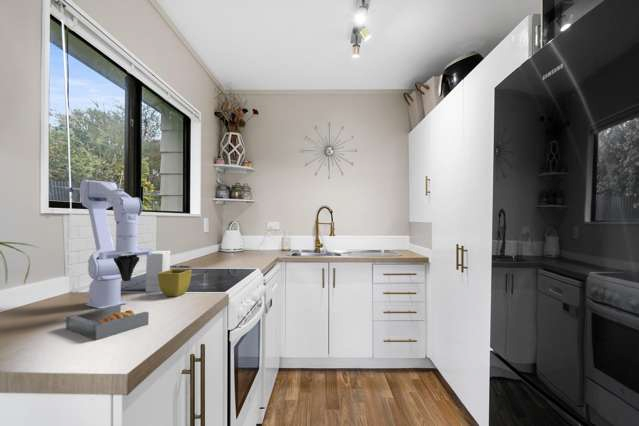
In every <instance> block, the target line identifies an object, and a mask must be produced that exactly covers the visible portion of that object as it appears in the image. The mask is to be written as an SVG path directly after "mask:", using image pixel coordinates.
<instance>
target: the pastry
mask: <svg viewBox="0 0 639 426" xmlns="http://www.w3.org/2000/svg"><path fill="white" fill-rule="evenodd" d="M134 314H135V313H134V311H133V310H131V309H129V310H125V311H122V312H119V313H114V314H112V315H110V316H108V317H106V318H103V319H102V320H100V321H98V322H97V323H104V322H108V321H112V320H115V319H119V318H123V317H127V316H131V315H134Z"/></svg>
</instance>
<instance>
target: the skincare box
mask: <svg viewBox="0 0 639 426" xmlns="http://www.w3.org/2000/svg"><path fill="white" fill-rule="evenodd" d="M168 270H171V250H154V251H151V255H146V270H145V272H146V273H145V274H146V275H145V293H163V292H162V291H161V289H160V286H159V280H158V273H160V272H164V271H168Z"/></svg>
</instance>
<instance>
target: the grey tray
mask: <svg viewBox="0 0 639 426" xmlns="http://www.w3.org/2000/svg"><path fill="white" fill-rule="evenodd" d="M121 305H122V304H121ZM121 305H114V306H110V307H105V308H101V309H98V308H96V309H92V310H89V311H84V312H81V313H75V314H72V315H70V314H69V315H67V316H65V329H66V330H68V331H71V332H73V333H76V334H79V335H80V336H84V337H86V338H90V339H92V340H95V341H98V340H102V339H105V338H108V337H111V336H114V335H117V334H121V333H125V332H127V331H131V330H133V329H137V328H140V327H144V326H148V325H149V317H150V316H149V313H150V312H149V311H142V312H138V313H134V315H131V316H127V317H123V318H119V319H115V320H112V321H108V322H104V323H97V322H98V321H100V320H102V319H103V318H106V317H108V316H110V315H112V314H114V313H119V312H121V308H122V306H121Z"/></svg>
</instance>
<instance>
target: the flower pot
mask: <svg viewBox="0 0 639 426" xmlns="http://www.w3.org/2000/svg"><path fill="white" fill-rule="evenodd" d="M191 278H192V269H170V270H168V271H164V272H160V273H158V280H159V286H160V289H161V291H162V292H161V293H163V295H164V296H165V297H179V296H182V295H183V294H184V295H185V293H186V292H187V290H188V289H189V286H190V284H191V280H192V279H191Z"/></svg>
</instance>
